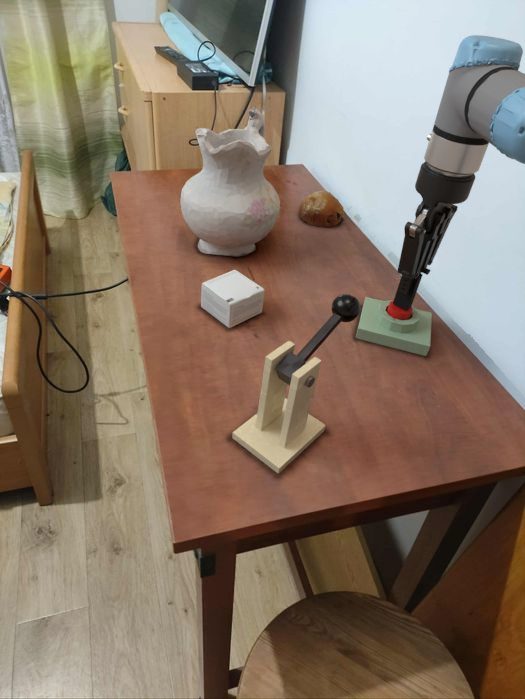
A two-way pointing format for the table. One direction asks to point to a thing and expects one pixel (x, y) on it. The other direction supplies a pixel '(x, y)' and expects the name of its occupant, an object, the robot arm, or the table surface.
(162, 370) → the table surface
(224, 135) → the ceramic pitcher
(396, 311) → the button
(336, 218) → the bread roll
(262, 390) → the cream lever bracket
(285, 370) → the lever
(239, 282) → the small box
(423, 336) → the button block
